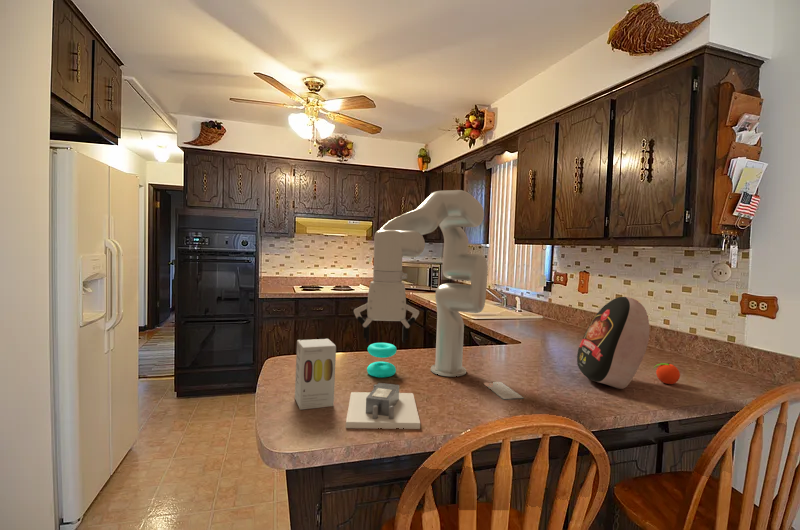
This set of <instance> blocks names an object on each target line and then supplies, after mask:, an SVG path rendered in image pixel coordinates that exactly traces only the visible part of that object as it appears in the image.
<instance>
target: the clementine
mask: <svg viewBox="0 0 800 530" xmlns="http://www.w3.org/2000/svg"><path fill="white" fill-rule="evenodd" d="M657 366H658V367H657ZM655 367H657V368H656V373H655V374H656V377H657V378H658V380H659V381H660V382H661V383H664V384H667V385H673V384H676V383H677V382H678V381H679V379H680V377H681V373H680V370H679V369H678V368H677V366H675V365H674V364H670V363H664V362H662V363H658V364H655V366H654V367H653V369H655Z"/></svg>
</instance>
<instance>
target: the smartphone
mask: <svg viewBox="0 0 800 530" xmlns="http://www.w3.org/2000/svg"><path fill="white" fill-rule="evenodd" d="M492 382H493V386H492V385H491V386H492V387H490V386H488V388H487V389H488V390H490V389H491V390H492V391H491V392H492V393H494V394H495V393H496V394H495V395H496V396H498V397H499V398H500V399H501V400H504V401H508V400H524V399H525V397H524V396H522V395H521V394H519V393H518V392H516V391H515V390H514V389H512V388H510V387H509V386H507V385H506V384H504V383H503V382H502V381H492ZM490 384H491V383H490ZM490 384H489V385H490ZM497 384H498V385H497Z"/></svg>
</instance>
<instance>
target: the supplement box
mask: <svg viewBox="0 0 800 530" xmlns="http://www.w3.org/2000/svg"><path fill="white" fill-rule="evenodd" d="M336 356H337V346H336V344H335V343H334V342H333V341H331V340H330V339H329V338H319V339H317V338H315V339H297V340H296V356H295V357H296V358H295V360H296V361H295V380H294V381H295V383H294V400H295V402H296V404H297V407H298V409H299V410H309V409H319V408H326V407H334V404H335V403H334V402H335V382H336V362H337V361H336V359H337V358H336Z"/></svg>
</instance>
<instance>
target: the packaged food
mask: <svg viewBox="0 0 800 530" xmlns="http://www.w3.org/2000/svg"><path fill="white" fill-rule="evenodd" d="M650 330H651V329H650V321H649V316H648V312H647V310H646V308H645V306H644V305H643V304H642V303H641V302H639V301H638V300H637V299H635V298H632V297H629V296H620V297H619V296H618V297H616V298H614V299H611V300H610V301H609V302H607V303H606V304H605V305H603V306H602V307H601V308H600V309H599V310H598V311H597V313H596V314H595V316H594V317H593V319H592V320H591V322H590V324H589V325H588V328H587V329H586V331H585V333H584V335H583V337H582V339H581V342H580V343H579V347H578V349H577V356H576V362H577V367H578V369H579V370H580V372H581V373H582V374H583V376H585V378H587V379H588V380H590V381H592V382H597V383H600V384H603V385H607V386H610V387H611V388H616V389H620V390H622V389H625V388H627V387H628V386H629V385H630V384H631V382H632V380H633V378H634V377H635V375H636V373H637V371H638V370H639V368H640V365H641V364H642V361H643V360H644V359H643V358H644V357H645V354H646V351H647V349H648V344H649V339H650V332H651V331H650Z"/></svg>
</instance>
